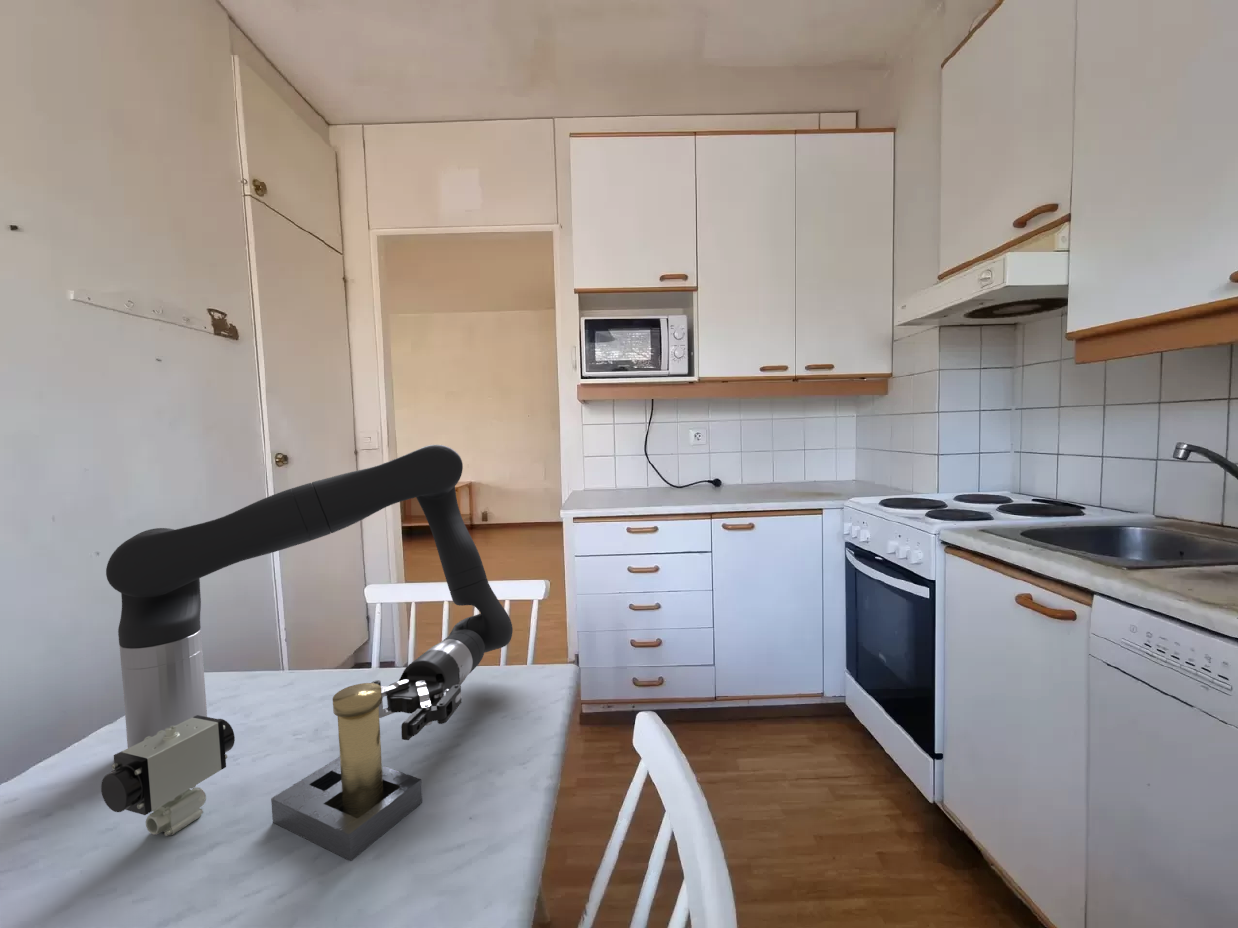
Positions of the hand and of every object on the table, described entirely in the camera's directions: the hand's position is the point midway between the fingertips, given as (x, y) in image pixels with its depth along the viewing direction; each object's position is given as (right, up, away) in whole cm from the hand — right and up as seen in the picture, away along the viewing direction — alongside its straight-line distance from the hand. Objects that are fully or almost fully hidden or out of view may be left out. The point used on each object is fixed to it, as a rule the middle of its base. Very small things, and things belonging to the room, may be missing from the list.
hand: (373, 730), depth 65 cm
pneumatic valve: (-23, -10, -2) cm, 25 cm away
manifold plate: (-3, -10, -1) cm, 10 cm away
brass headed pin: (0, -9, -2) cm, 9 cm away
